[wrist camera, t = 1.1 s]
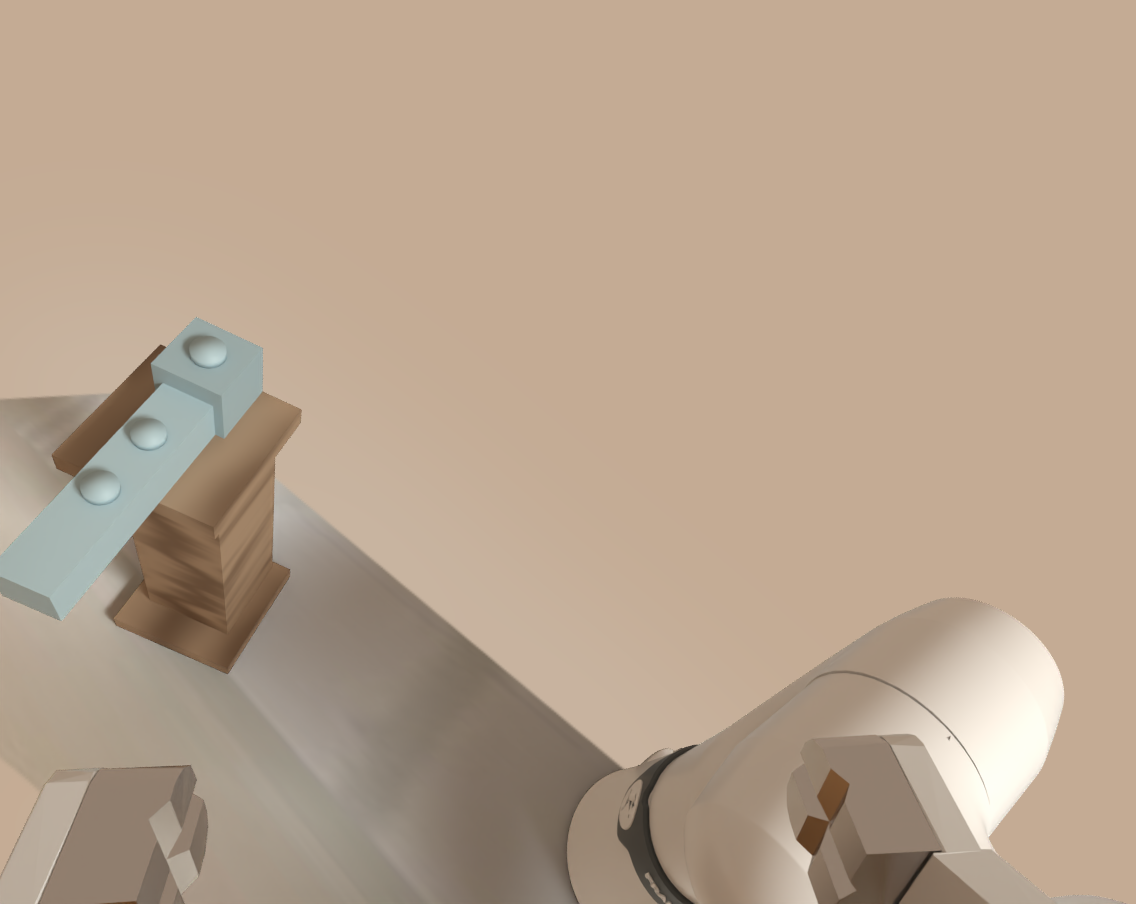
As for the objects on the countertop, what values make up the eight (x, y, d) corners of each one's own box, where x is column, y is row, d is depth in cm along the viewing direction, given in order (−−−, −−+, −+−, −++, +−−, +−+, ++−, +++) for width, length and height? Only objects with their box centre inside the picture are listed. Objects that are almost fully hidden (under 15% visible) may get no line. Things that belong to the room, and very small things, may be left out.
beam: (262, 391, 51) (262, 341, 47) (72, 626, 40) (52, 585, 36) (200, 362, 51) (195, 310, 47) (-9, 590, 40) (-38, 546, 36)
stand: (289, 576, 72) (301, 409, 51) (227, 674, 65) (213, 527, 45) (188, 531, 71) (160, 344, 51) (116, 625, 65) (51, 454, 45)
